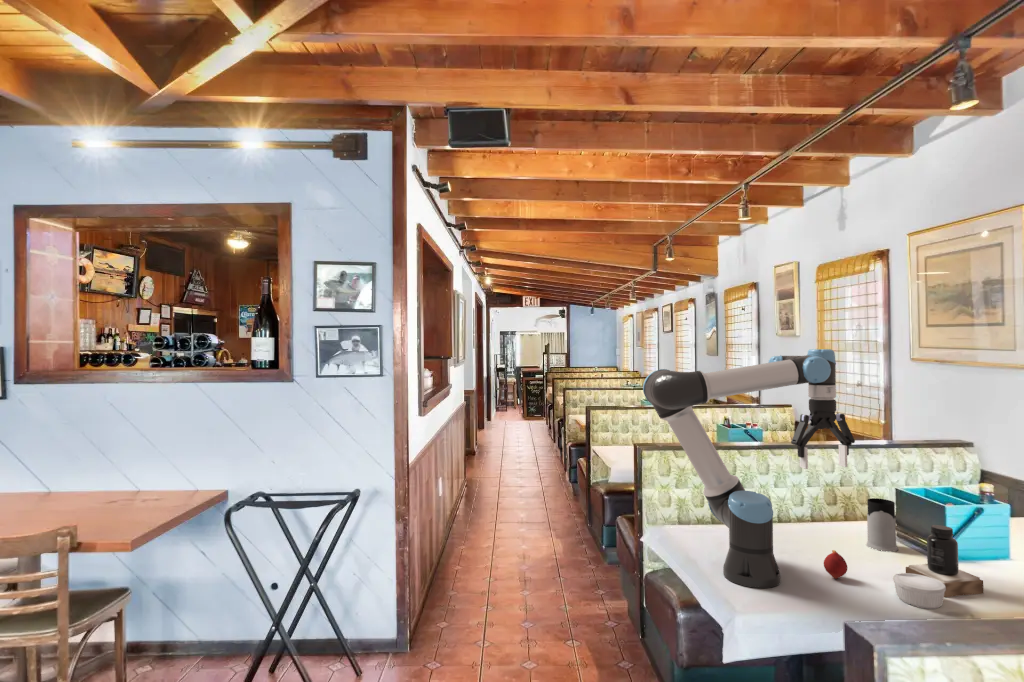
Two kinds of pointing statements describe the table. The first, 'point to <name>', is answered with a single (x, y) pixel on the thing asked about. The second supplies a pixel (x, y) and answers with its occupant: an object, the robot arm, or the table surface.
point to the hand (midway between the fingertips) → (823, 467)
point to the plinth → (951, 581)
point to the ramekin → (919, 590)
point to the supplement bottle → (942, 551)
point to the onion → (835, 565)
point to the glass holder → (881, 524)
